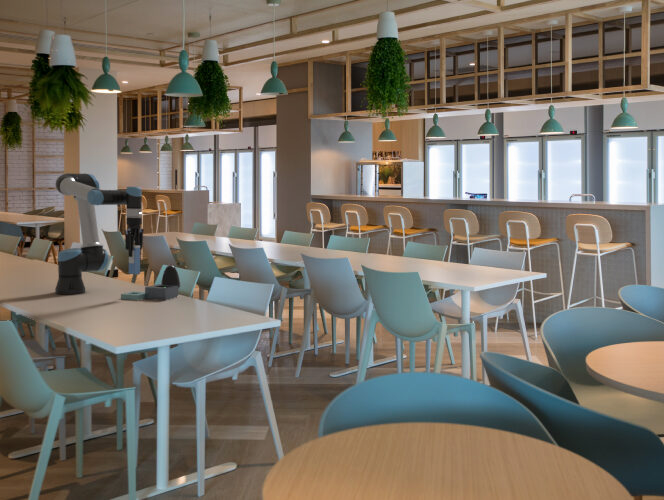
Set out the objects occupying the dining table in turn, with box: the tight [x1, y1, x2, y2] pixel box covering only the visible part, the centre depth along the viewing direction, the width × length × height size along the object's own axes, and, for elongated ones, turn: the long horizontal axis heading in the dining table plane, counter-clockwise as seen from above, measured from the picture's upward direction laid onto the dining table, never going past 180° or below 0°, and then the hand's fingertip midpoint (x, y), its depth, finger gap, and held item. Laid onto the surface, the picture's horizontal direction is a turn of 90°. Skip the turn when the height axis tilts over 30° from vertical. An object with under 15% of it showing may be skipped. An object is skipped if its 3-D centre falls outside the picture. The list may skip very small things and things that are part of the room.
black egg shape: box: [160, 265, 181, 292], centre depth 372 cm, size 10×10×15 cm
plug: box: [128, 244, 141, 275], centre depth 354 cm, size 4×4×14 cm
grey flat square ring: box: [120, 291, 145, 301], centre depth 355 cm, size 10×10×2 cm
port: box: [144, 283, 179, 301], centre depth 357 cm, size 12×12×6 cm
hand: (134, 262), depth 354 cm, fingers closed on plug, 4 cm apart
